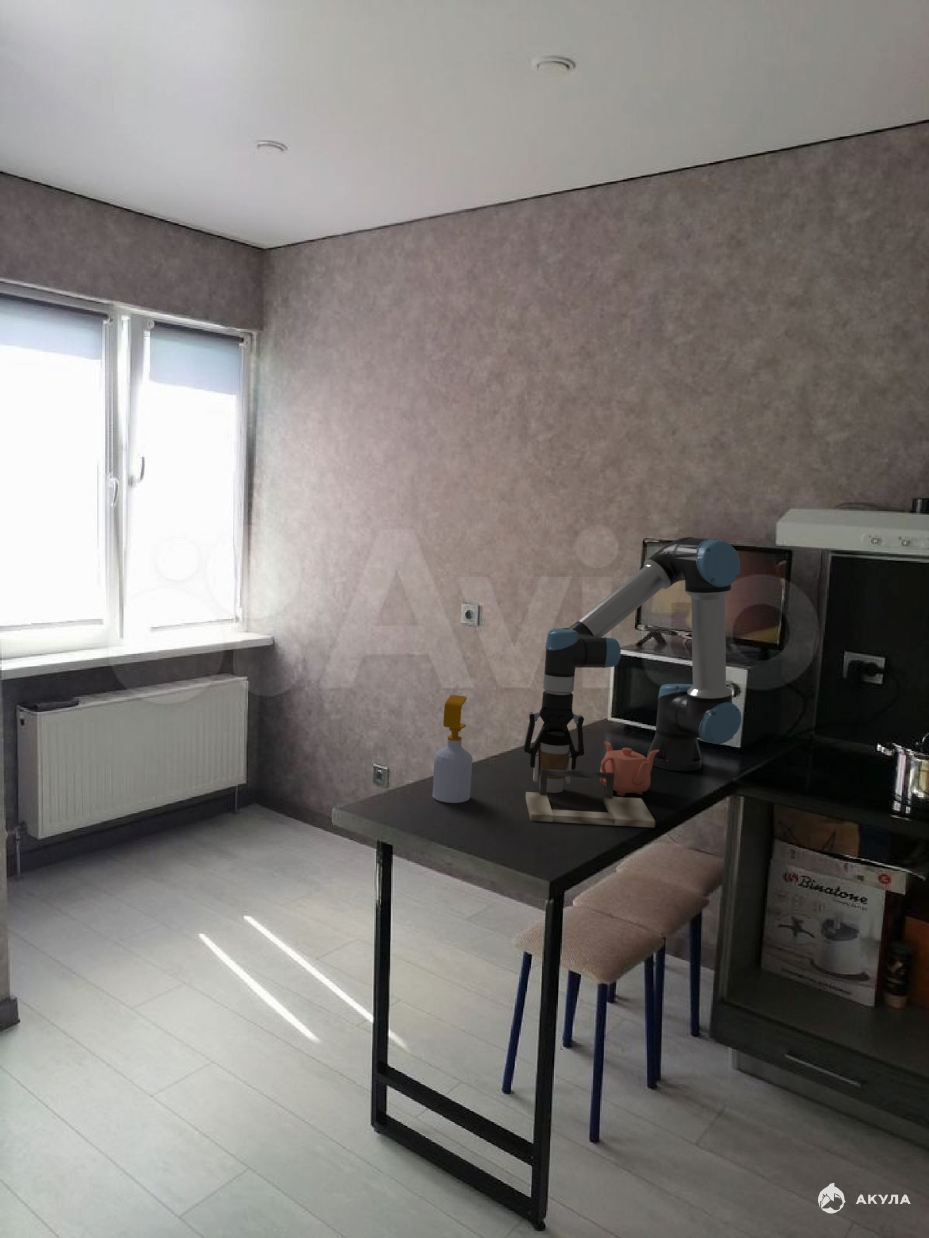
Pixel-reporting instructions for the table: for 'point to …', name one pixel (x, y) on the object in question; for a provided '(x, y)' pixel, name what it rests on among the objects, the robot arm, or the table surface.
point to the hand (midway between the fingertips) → (551, 780)
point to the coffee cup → (554, 757)
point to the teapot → (627, 770)
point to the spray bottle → (452, 759)
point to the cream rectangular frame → (618, 808)
